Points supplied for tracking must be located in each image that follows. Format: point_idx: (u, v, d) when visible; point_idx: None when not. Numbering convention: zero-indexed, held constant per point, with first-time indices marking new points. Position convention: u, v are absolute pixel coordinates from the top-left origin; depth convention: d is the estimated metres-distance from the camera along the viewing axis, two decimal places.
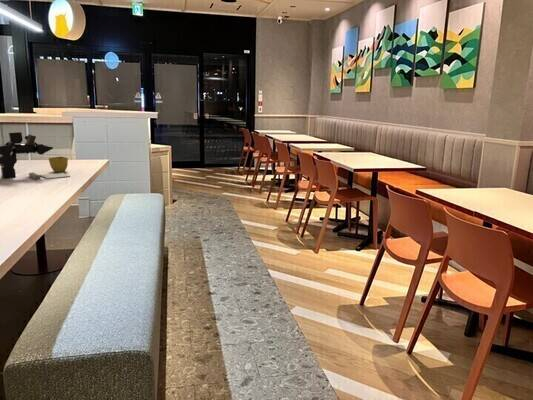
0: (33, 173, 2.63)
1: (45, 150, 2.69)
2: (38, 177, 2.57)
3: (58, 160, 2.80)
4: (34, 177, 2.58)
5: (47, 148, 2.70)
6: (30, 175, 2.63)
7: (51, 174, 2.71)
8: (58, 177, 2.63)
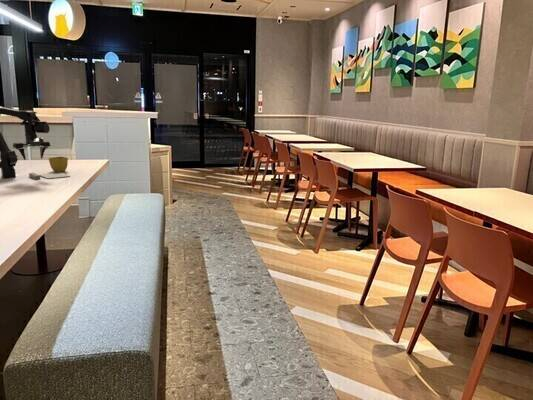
0: (33, 173, 2.63)
1: (20, 151, 2.54)
2: (38, 177, 2.57)
3: (58, 160, 2.80)
4: (34, 177, 2.58)
5: (22, 153, 2.54)
6: (30, 175, 2.63)
7: (51, 174, 2.71)
8: (58, 177, 2.63)
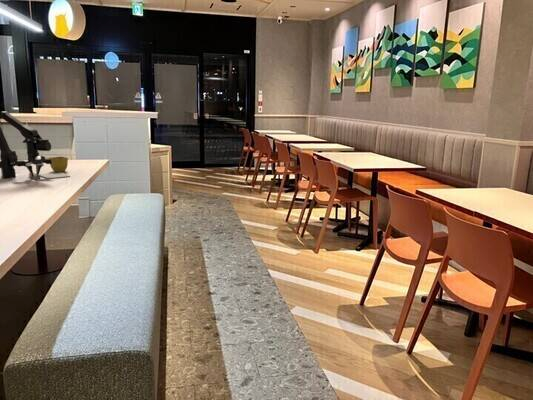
0: (33, 173, 2.63)
1: (28, 168, 2.58)
2: (38, 177, 2.57)
3: (58, 160, 2.80)
4: (34, 177, 2.58)
5: (30, 171, 2.58)
6: (30, 175, 2.63)
7: (51, 174, 2.71)
8: (58, 177, 2.63)
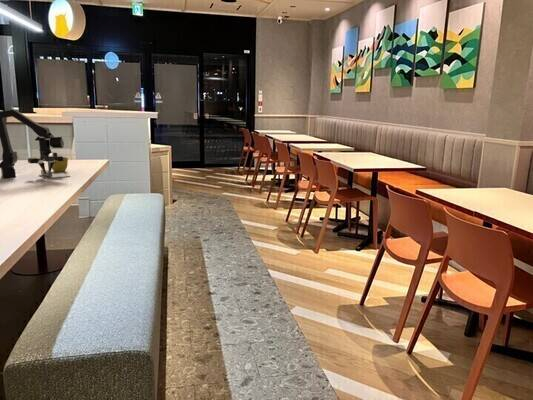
0: (45, 170, 2.68)
1: (40, 165, 2.63)
2: (50, 174, 2.62)
3: None
4: (46, 174, 2.63)
5: (42, 168, 2.63)
6: (42, 172, 2.67)
7: None
8: (58, 177, 2.63)
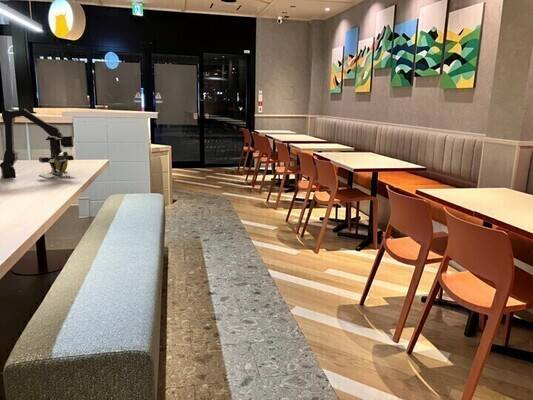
0: None
1: (51, 164, 2.67)
2: (61, 173, 2.66)
3: None
4: (57, 173, 2.67)
5: (53, 167, 2.67)
6: (53, 171, 2.71)
7: (51, 174, 2.71)
8: (58, 177, 2.63)
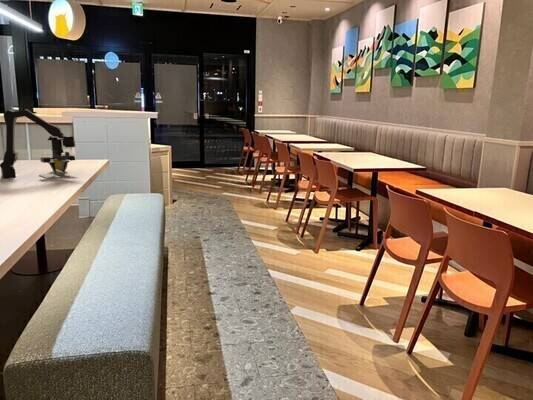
0: (57, 170, 2.73)
1: (51, 165, 2.67)
2: (62, 173, 2.67)
3: None
4: (58, 173, 2.67)
5: (52, 167, 2.67)
6: None
7: (51, 174, 2.71)
8: (58, 177, 2.63)
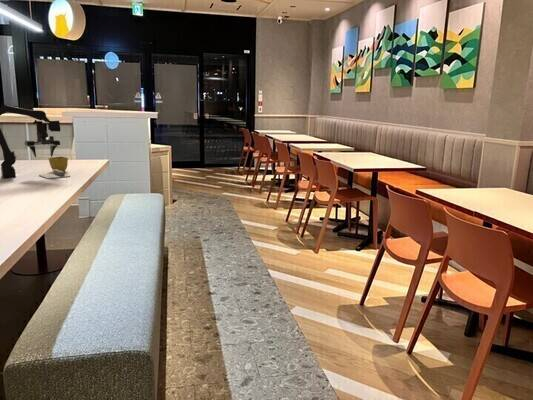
0: (57, 170, 2.73)
1: (31, 149, 2.64)
2: (62, 173, 2.67)
3: (58, 160, 2.80)
4: (58, 173, 2.67)
5: (33, 151, 2.64)
6: (54, 172, 2.72)
7: (51, 174, 2.71)
8: (58, 177, 2.63)
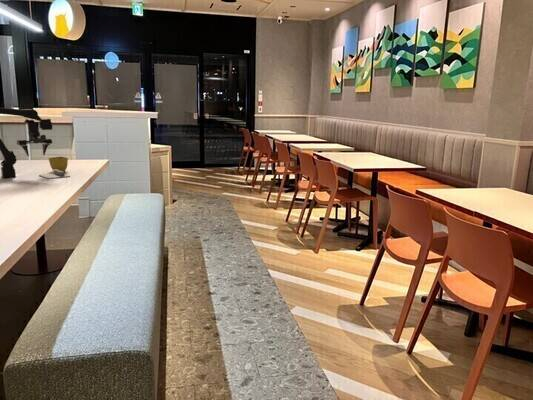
0: (57, 170, 2.73)
1: (24, 148, 2.65)
2: (62, 173, 2.67)
3: (58, 160, 2.80)
4: (58, 173, 2.67)
5: (25, 150, 2.64)
6: (54, 172, 2.72)
7: (51, 174, 2.71)
8: (58, 177, 2.63)
